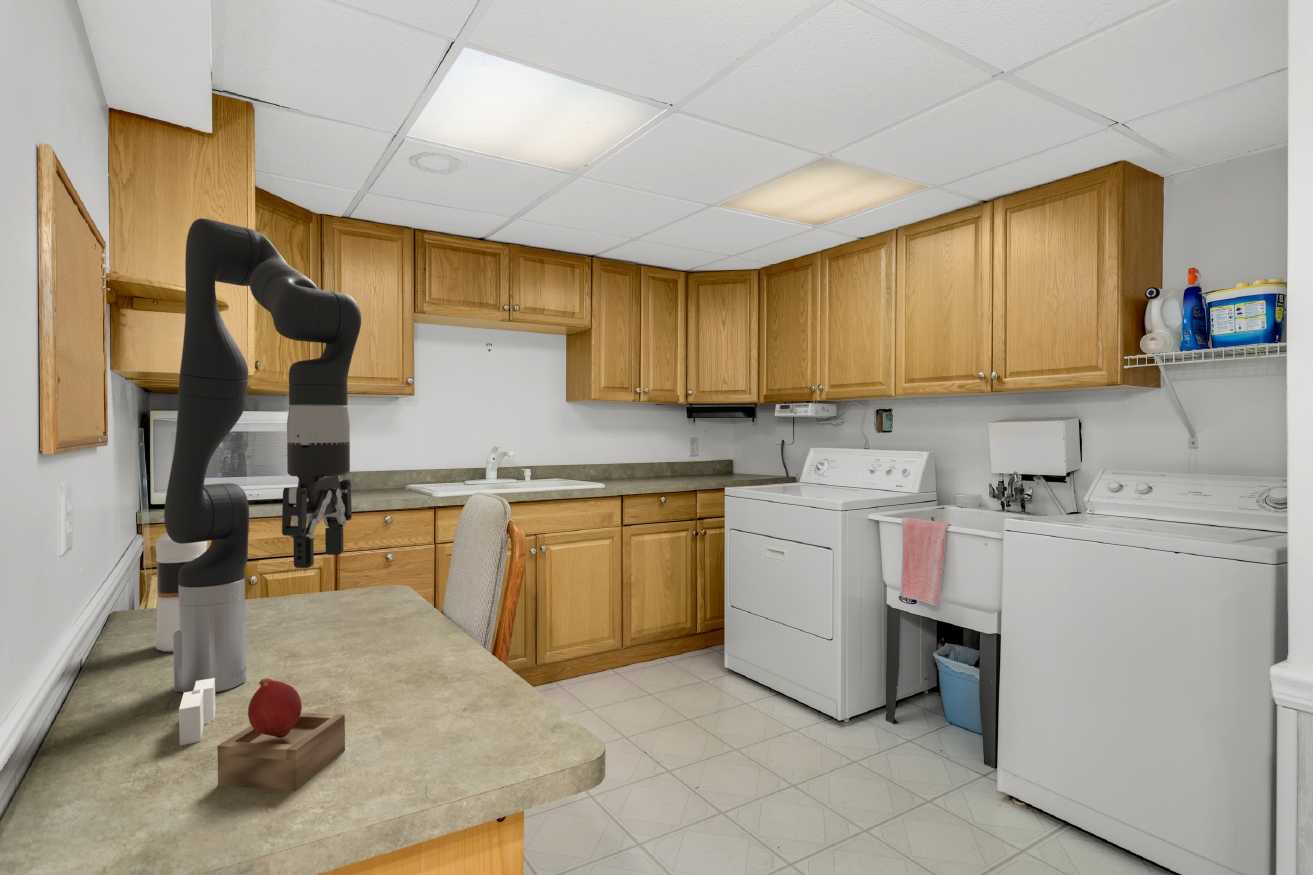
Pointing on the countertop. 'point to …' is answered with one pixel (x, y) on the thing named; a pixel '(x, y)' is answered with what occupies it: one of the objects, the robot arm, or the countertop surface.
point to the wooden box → (281, 754)
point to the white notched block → (196, 711)
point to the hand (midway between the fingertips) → (319, 560)
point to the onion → (274, 708)
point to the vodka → (171, 585)
